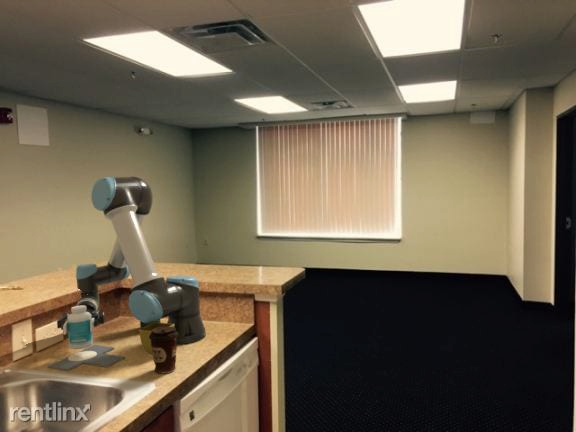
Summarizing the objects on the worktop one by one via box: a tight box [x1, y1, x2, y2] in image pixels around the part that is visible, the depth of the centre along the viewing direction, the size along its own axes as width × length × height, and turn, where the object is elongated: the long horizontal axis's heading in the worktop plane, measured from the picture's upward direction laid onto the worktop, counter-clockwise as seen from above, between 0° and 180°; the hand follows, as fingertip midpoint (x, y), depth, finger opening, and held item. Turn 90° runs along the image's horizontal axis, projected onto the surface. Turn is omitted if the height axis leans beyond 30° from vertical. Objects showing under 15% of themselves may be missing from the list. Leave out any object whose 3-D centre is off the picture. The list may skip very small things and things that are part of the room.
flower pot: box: [138, 322, 174, 355], centre depth 160 cm, size 9×9×9 cm
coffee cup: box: [149, 327, 178, 374], centre depth 144 cm, size 9×8×13 cm
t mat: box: [47, 344, 126, 372], centre depth 156 cm, size 19×20×1 cm
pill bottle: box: [67, 305, 94, 350], centre depth 157 cm, size 8×7×14 cm
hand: (78, 328), depth 152 cm, fingers closed on pill bottle, 7 cm apart
